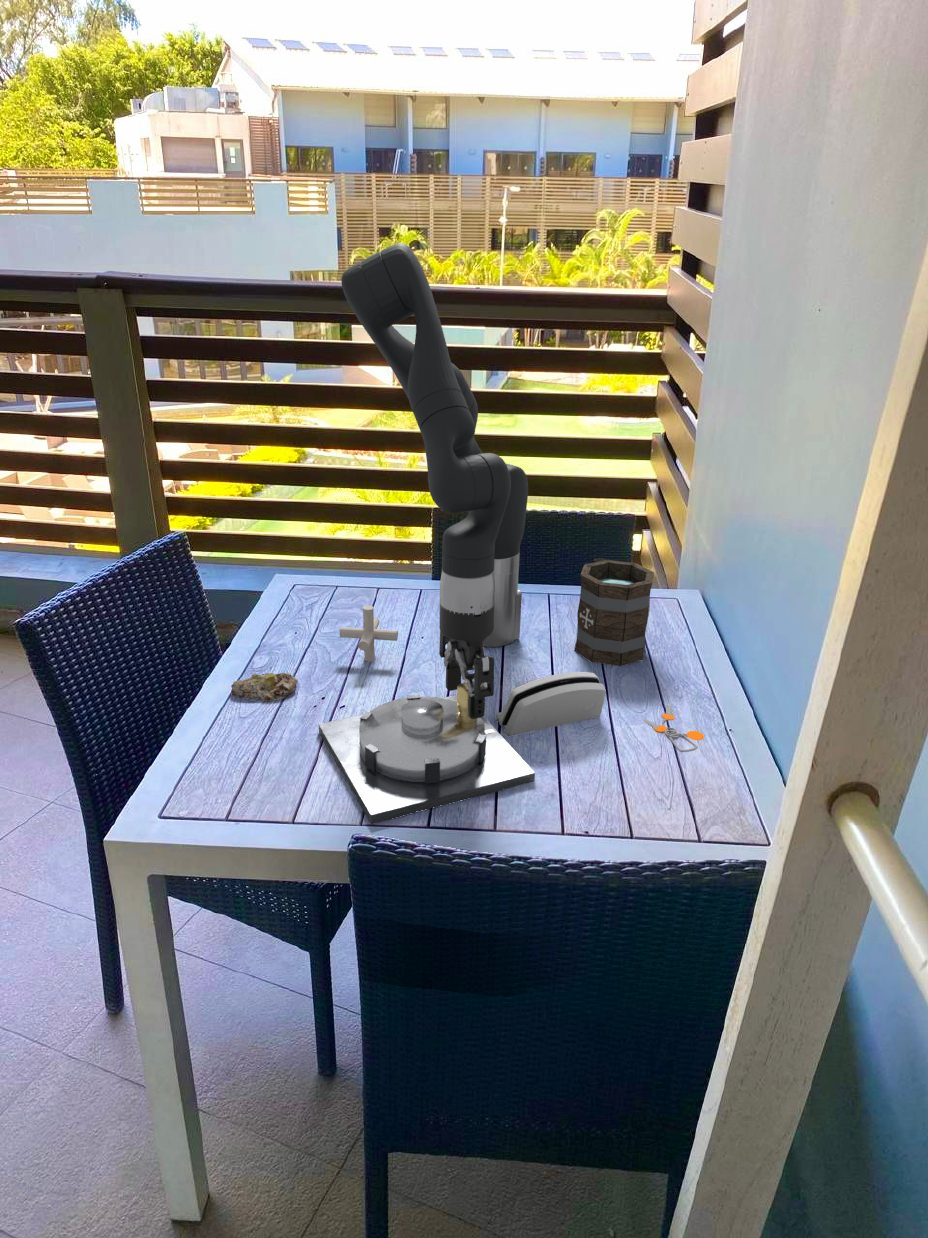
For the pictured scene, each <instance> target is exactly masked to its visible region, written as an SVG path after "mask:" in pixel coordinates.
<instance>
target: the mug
mask: <svg viewBox="0 0 928 1238" xmlns="http://www.w3.org/2000/svg"><path fill="white" fill-rule="evenodd" d="M654 576H655V572H654V571H652V570H650V569H648V568H646V567H645V566H643V565H640V564H638V563H636V562H632V561H631V562H629V561H628V562H627V561H622V560H621V561H620V560H613V559H612V560H611V559H606V558H605V557H597V558H594V559H593V560H592V562H591V563H590V562H589V563H585V564H583V568H582V570H581V573H580V592H579V593H580V594H579V602H578V606H577V619H576V620H577V629H576V630H577V631H576V632H577V633H576V640H575V646H574V649H573V651H574V652H575V653H577V654H578V655H580V656H581V657H582V658H584V659H586V660H587V661H588V662H591V663H593V664H601V665H609V666H615V667H616V666H617V667H623V666H626V665H627V666H628V665H630V664H634V663H638V662H641V661H643V660H644V656H645V651H646V632H647V625H648V620H649V616H650V608H651V607H650V601H651V600H650V599H651V591H652V585H653V582H654V581H653V580H654Z"/></svg>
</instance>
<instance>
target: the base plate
mask: <svg viewBox="0 0 928 1238" xmlns="http://www.w3.org/2000/svg"><path fill="white" fill-rule="evenodd" d="M443 698H444V699H448V700H452V701H455V702H457V694H455V695H451V696H446V697H443ZM362 715H363V714H360V715H354V716H351V717H350V716H349V717H345V718H341V719H337V720H331V721H327V722H322V723H318V733H319V735H320V737H321V738H322V741H323V742H324V744H325V746H326V748H327V749H328V752H329V753H330V754H331V756H332V757H333V759H334V761H335V763H336V765H337V767H338V768H340V769H339V770H340V772H341V774H342V775H343V778H344V779H345V781H346V782H347V784H348V786H349V787H350V790H351V791H352V793H353V795H354V796H355V799H356V800H357V802H358V803H359V806H360V807H361V809H362V811H363V812H364V815H365V816H366V817H367V819H368V821H369V823H370V825H376V824H378V823H379V824H380V823H382V822H386V820H387V821H390V820H393V819H392V818H394V819H397V818H396V817H398V818H401V817H400V816H402V817H404V816H403V815H406V816H408V815H407V814H409V815H411V814H410V813H413V814H416V813H415V812H416V811H421V810H425V809H428V810H431V809H430V808H432V809H434V808H433V807H436V808H439V807H438V806H440V805H444V806H447V805H446V804H448V805H450V804H449V803H451V804H454V803H453V802H455V803H458V801H459V802H461V801H460V800H463V801H465V800H464V799H467V800H469V799H468V798H470V799H474V798H478V797H480V796H485V795H488V794H492V793H496V792H500V791H504V790H508V789H511V788H515V787H519V786H522V785H527V784H528V785H529V784H532V783H534V782H535V781H536V779H535V777H536V772H535V771H534V769H532V768H531V767H530V766H529V764H528V763H527V762H526V761H525V760H524V759H523V758H522V756H521V755H520V754H519V753H518V752H517V751H516V750H515V749H514V748H513V747H512V746H511V744H510V743H509V742H508V741H507V740H506V739H505V738H504V737H503V736H502V734H500V733H499V731H497V729H496V728H495V727H494V726H493V725H492V724H491V722H490V721H488V719H486V717H485V715H484V716H483V717H481V719H482V720H483V722H484V726H485V735H486V755H485V757H484V758H483V760H482V762H478V763H477V764H476V765H475V766H474V767H473V768H471V769H470V770H468V771H467V772H465V773H463V774H461V775H458V776H456V777H453V778H449V779H445V780H440V782H437V783H426V784H425V782H410V781H403V780H398V779H394V778H390V777H388V776H385V775H382V774H380V773H378V772H377V771H375V772H373V771H372V770H370V769H369V768H368V767H366V766H365V761H364V760H363V758H362V756H361V753H360V738H359V727H360V718H361V716H362ZM440 807H441V806H440ZM425 811H426V810H425ZM421 812H422V811H421Z"/></svg>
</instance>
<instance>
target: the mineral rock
mask: <svg viewBox="0 0 928 1238" xmlns="http://www.w3.org/2000/svg"><path fill="white" fill-rule="evenodd" d="M297 685H298V678H296V676H293V675H292V674H291V673H289V672H280V673H274V672H268V673H265V674H264V673H262V674H258V673H257V674H255V673H254V674H252V675H251V677H249V678H246V679H243V680H241V679H240V680H239V679H237V680H235V681H233V683H232V684H231V686H230V687H231V689H232V690H231V694H232V695H234V696H237V697H238V698H239V699H244V700H245V699H247V700H253V699H254V700H255V699H257V700H262V702H270V701H271V702H273V701H277V700H283V699H286V696H287V695H290V694H292V693H293V692H295V690H296V689H297Z"/></svg>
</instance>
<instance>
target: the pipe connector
mask: <svg viewBox="0 0 928 1238" xmlns="http://www.w3.org/2000/svg"><path fill="white" fill-rule="evenodd" d="M362 621H363V623H362V624H363V625H362V626H363V627H347V626H346V627H345V626H341V627H340V629H339V637H340V638H346V639H360V640H359V642H358V645H357V647H358V649H359V650H360V651H363V655H364V661H365V662H373V661H375V659H376V658H375V654H376V653H375V640H376V641H377V640H379V641H392V642H394V641H395V642H397V641H398V640H399V639H398V637H399V631H398V630H395V629H394V630H392V629H380V628H378V627H379V625H380V619H379V618H378V617H376V616H374V606H372V605H364V606H363V607H362Z"/></svg>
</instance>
